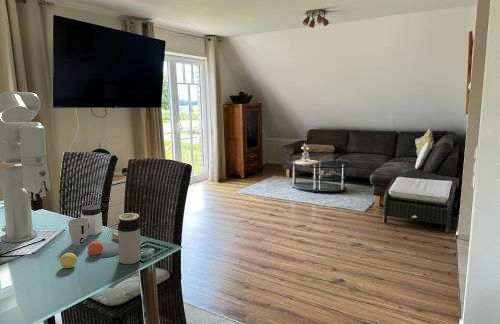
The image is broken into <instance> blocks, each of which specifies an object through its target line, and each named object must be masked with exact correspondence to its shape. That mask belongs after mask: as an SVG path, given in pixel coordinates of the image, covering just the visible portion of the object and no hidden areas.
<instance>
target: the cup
mask: <svg viewBox="0 0 500 324" xmlns="http://www.w3.org/2000/svg"><path fill="white" fill-rule="evenodd" d="M67 226H68V233H69V235H70V236H69V237H70V240H71V242H72V244H73V246H79V247H80V246H84V245H86V244H87V241H88V239H89V235H88V234H89V219H87V218H81V217H76V218H72V219H70V220H68V221H67Z"/></svg>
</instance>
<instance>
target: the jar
mask: <svg viewBox="0 0 500 324" xmlns="http://www.w3.org/2000/svg"><path fill="white" fill-rule="evenodd" d="M80 211H81V213H80V218H87V219H89V234H88V236H96V235H98V234H100V233H102V232H103V217H102V216H103V215H102V212H101V211H102V210H101V206H100V205H98V204H88V205H84V206H82V207H81V208H80Z"/></svg>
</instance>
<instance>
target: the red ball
mask: <svg viewBox="0 0 500 324" xmlns="http://www.w3.org/2000/svg"><path fill="white" fill-rule="evenodd" d="M102 244H103V243H102V242H101V241H98V240H94V241H92V242H90V243H89V245H88V246H87V253H88V252H89V253H90V254H91V255H98V254H100V253H101V252H102V250H103V245H102Z"/></svg>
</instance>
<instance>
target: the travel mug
mask: <svg viewBox="0 0 500 324" xmlns="http://www.w3.org/2000/svg"><path fill="white" fill-rule="evenodd" d="M139 217H140V215H139V214H138V213H135V212H126V213H122V214H120V215H118V220H119V222H118V224H117V233H118V241H117V243H118V244H119V254H118V261H119V263H120V264H123V265H133V264H136V263H138V262H139V261H140V260H141V259H142V258H141V257H142V256H141V246H140V240H141V223H140V221H139Z"/></svg>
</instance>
